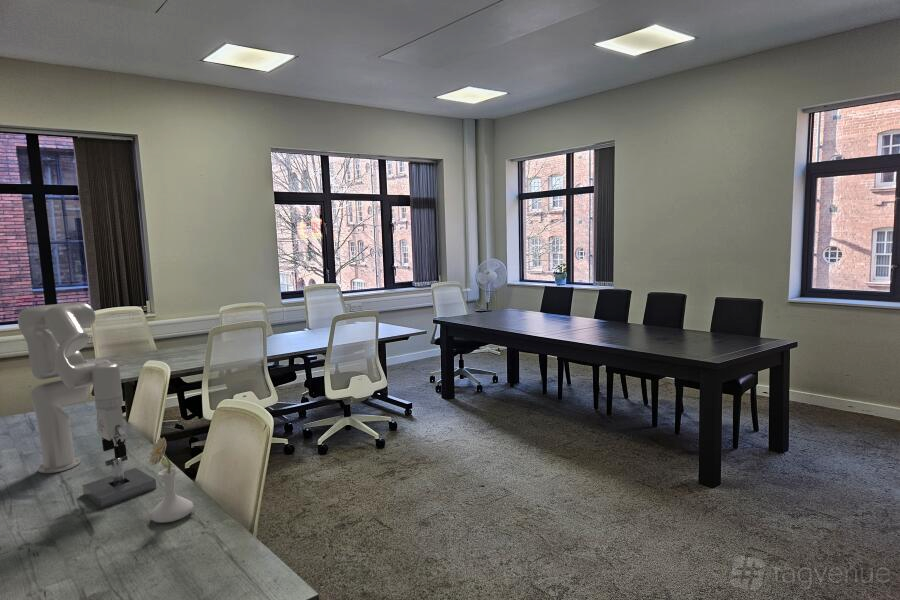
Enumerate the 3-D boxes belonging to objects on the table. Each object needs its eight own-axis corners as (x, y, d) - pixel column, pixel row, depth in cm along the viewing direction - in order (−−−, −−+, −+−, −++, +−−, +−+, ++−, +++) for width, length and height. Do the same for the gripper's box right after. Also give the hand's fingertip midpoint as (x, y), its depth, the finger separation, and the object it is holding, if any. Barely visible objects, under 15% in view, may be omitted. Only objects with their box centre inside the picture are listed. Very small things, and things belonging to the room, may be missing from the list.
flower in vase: (153, 512, 163) (143, 431, 160) (195, 503, 167) (186, 424, 164) (148, 533, 151) (138, 446, 148) (193, 523, 155) (184, 438, 152)
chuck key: (108, 493, 177) (104, 460, 176) (128, 486, 182) (124, 454, 180) (111, 495, 175) (107, 462, 174) (131, 488, 180) (128, 456, 178)
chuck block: (83, 494, 177) (82, 485, 177) (136, 476, 189) (135, 467, 189) (102, 507, 167) (100, 498, 167) (156, 487, 179) (155, 479, 179)
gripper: (86, 400, 177) (91, 450, 180) (106, 410, 167) (112, 464, 169) (111, 394, 183) (116, 443, 185) (133, 404, 172) (138, 455, 175)
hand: (114, 453), depth 177 cm, fingers open, 9 cm apart
